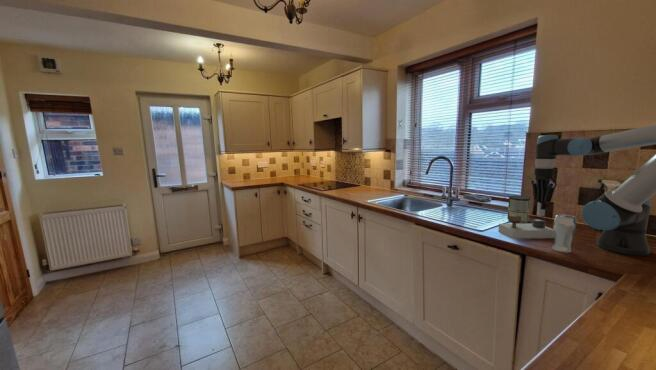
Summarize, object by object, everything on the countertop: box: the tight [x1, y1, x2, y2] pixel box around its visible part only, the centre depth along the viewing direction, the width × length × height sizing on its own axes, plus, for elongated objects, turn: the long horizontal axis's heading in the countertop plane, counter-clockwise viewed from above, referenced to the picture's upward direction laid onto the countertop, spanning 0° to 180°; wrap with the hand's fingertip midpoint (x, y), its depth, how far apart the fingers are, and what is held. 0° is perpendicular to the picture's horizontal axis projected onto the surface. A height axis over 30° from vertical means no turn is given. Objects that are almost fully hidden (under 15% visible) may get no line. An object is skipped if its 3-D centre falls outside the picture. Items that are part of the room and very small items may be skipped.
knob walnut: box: [507, 215, 522, 228], centre depth 131 cm, size 5×5×6 cm
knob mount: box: [498, 222, 554, 239], centre depth 132 cm, size 11×20×4 cm, turn 89°
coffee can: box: [507, 195, 531, 224], centre depth 156 cm, size 10×10×14 cm
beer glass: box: [551, 213, 577, 254], centre depth 111 cm, size 7×7×15 cm
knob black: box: [531, 218, 546, 228], centre depth 131 cm, size 5×5×6 cm
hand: (540, 215), depth 130 cm, fingers closed
